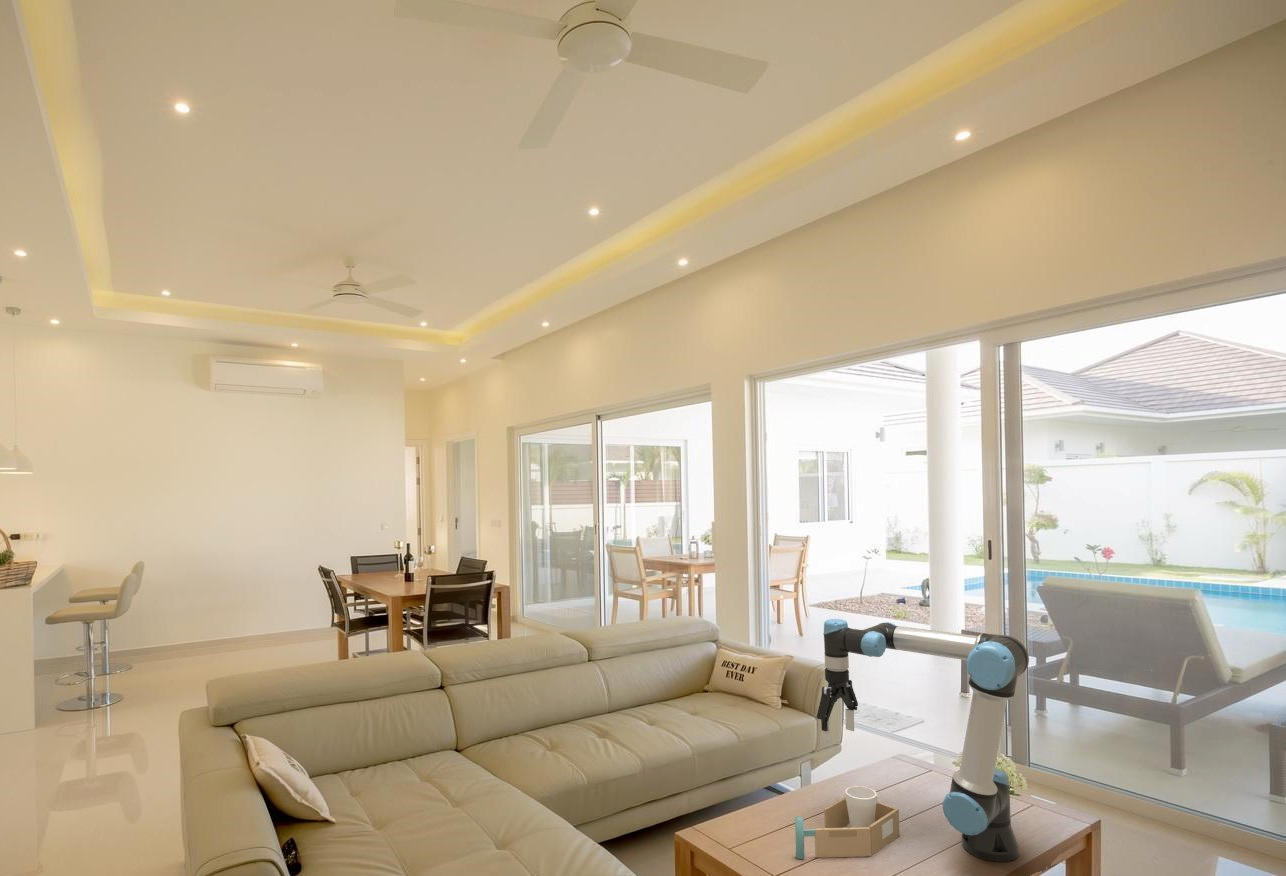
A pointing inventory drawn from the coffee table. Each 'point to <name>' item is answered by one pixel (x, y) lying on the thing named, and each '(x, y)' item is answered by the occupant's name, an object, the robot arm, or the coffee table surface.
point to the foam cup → (861, 806)
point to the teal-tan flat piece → (834, 841)
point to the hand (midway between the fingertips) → (838, 735)
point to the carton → (880, 830)
